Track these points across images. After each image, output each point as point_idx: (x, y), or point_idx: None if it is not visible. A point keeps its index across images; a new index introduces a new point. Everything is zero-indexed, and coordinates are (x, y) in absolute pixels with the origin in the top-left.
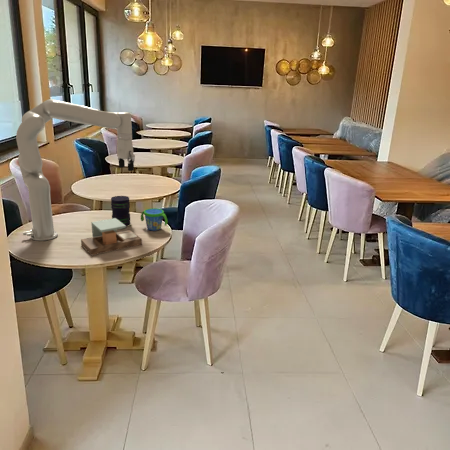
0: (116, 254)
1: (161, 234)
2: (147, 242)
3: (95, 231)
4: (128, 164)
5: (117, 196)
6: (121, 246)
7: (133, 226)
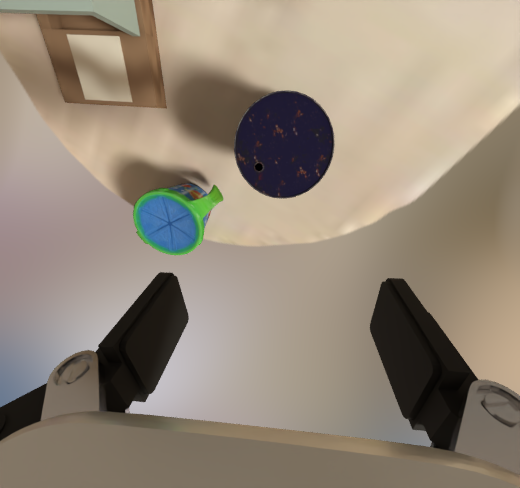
0: None
1: None
2: (94, 128)
3: None
4: (111, 335)
5: (327, 156)
6: None
7: None
